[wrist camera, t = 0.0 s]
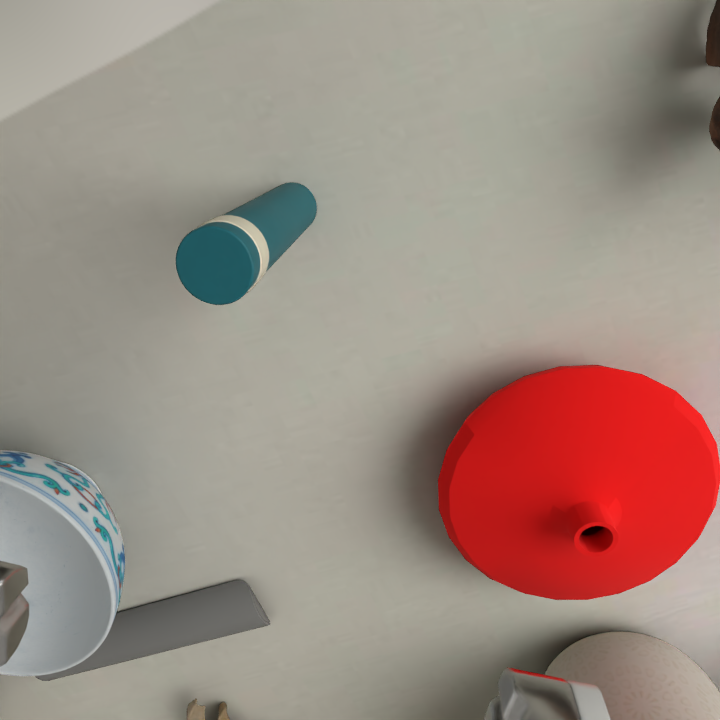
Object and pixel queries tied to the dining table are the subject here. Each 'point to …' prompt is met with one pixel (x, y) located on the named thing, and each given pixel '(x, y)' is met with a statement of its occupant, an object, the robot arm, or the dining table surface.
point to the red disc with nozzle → (579, 482)
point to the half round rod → (175, 625)
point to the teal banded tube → (243, 244)
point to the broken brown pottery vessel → (716, 55)
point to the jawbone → (197, 712)
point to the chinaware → (59, 560)
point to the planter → (640, 677)
